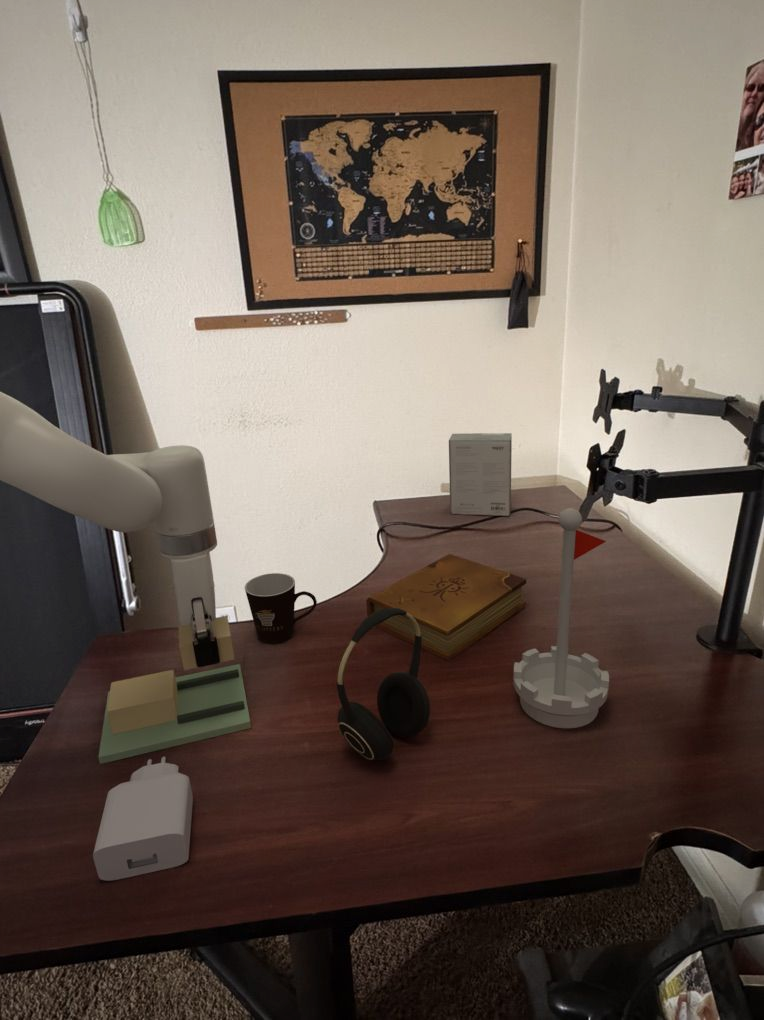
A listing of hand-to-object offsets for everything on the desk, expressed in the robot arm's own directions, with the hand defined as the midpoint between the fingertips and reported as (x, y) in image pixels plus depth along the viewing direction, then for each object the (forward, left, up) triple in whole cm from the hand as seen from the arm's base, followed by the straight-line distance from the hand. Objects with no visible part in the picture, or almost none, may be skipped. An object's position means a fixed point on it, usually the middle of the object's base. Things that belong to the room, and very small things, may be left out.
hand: (207, 650), depth 91 cm
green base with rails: (-6, 0, -9) cm, 11 cm away
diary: (+42, +11, -9) cm, 45 cm away
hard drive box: (+71, +57, -9) cm, 92 cm away
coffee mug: (+12, +15, -9) cm, 22 cm away
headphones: (+21, -17, -9) cm, 29 cm away
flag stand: (+47, -18, -9) cm, 52 cm away
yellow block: (0, 0, -1) cm, 1 cm away
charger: (-9, -20, -9) cm, 23 cm away
